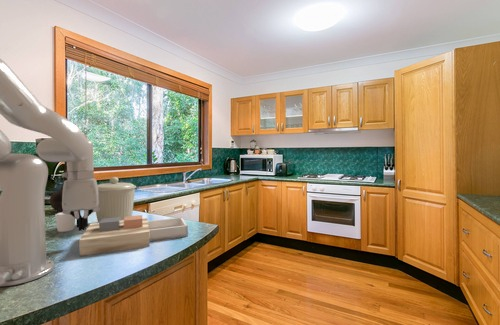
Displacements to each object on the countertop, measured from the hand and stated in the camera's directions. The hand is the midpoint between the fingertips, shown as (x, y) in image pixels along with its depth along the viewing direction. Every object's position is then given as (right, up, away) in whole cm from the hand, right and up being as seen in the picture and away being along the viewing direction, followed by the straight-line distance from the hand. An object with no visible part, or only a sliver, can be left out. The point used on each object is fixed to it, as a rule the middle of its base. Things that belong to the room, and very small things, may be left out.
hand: (82, 229), depth 86 cm
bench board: (+10, -6, +5) cm, 12 cm away
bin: (+25, -5, +13) cm, 28 cm away
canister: (-4, -5, +28) cm, 29 cm away
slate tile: (+8, -1, +3) cm, 8 cm away
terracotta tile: (+14, 0, +6) cm, 16 cm away
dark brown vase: (-43, -4, +54) cm, 69 cm away
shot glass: (-19, -5, +19) cm, 28 cm away
